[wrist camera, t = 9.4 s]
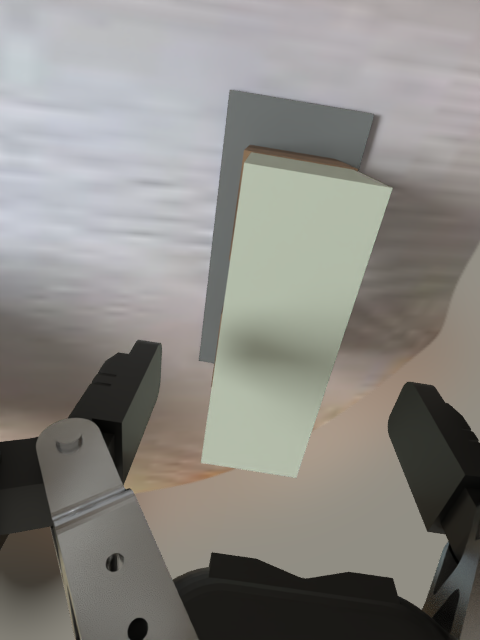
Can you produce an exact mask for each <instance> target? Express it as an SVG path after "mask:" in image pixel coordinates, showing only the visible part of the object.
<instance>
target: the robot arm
mask: <svg viewBox="0 0 480 640" xmlns="http://www.w3.org/2000/svg"><path fill="white" fill-rule="evenodd" d="M161 356H162V345H161V343H156V342H149V341H143V340H137V341H136V343H135V345H134V346H133V348H132V350H131V352H130V353H129V354H124V353H117V354H116V355H114V356H113V357H111V358H110V359H108V360H107V361H105V363H104V364H103V366H102V367H101V369H100V370H99V372H98V374H97V375H96V376H95V378H94V379H93V381H92V384H90V385H89V387H88V388H87V390H86V391H85V393H84V394H83V396H82V397H81V399H80V400H79V402H78V403H77V405H76V406H75V408H74V410H73V411H72V413H71V414H70V416H69V417H68V418H67V419H64V420H61V421H58V422H56V423H54V424H52V425H50V426H49V427H47V428H46V429H45V430H44V431H43V432H42V433H41V434H40V436H39V437H36V438H30V439H22V440H13V441H4V442H0V549H1V548H2V546H3V544H4V542H5V540H6V539H7V537H8V535H9V534H10V533H16V532H22V531H27V530H33V529H38V528H44V527H49V526H50V527H51V532H52V536H53V541H54V545H55V549H56V554H57V558H58V563H59V567H60V572H61V576H62V581H63V585H64V589H65V594H66V599H67V604H68V608H69V614H70V619H71V623H72V628H73V633H74V637H75V640H480V443H479V442H478V438H477V437H476V435H475V434H474V432H472V431H471V428H470V427H469V425H468V424H467V422H466V421H465V419H464V418H463V416H462V415H461V414H460V413H458V412H457V411H456V410H455V409H454V408H453V407H452V406H450V405H449V404H448V403H445V402H444V400H443V399H442V397H441V396H440V394H439V393H438V391H437V389H436V388H435V387H434V386H432V385H427V384H421V383H414V382H407V383H406V384H405V385H404V386H403V388H402V390H401V392H400V395H399V397H398V399H397V402H396V403H395V406H394V408H393V410H392V412H391V414H390V417H389V420H388V433H389V437H390V439H391V441H392V444H393V446H394V449H395V452H396V454H397V457H398V459H399V462H400V464H401V467H402V469H403V472H404V474H405V477H406V479H407V481H408V484H409V487H410V489H411V492H412V494H413V497H414V499H415V502H416V504H417V507H418V509H419V512H420V514H421V517H422V519H423V522H424V524H425V527H426V529H427V531H428V532H433V533H440V534H446V536H447V539H448V543H447V544H446V545H445V547H444V548H443V551H442V554H441V557H440V560H439V563H438V566H437V569H436V572H435V575H434V578H433V581H432V584H431V587H430V590H429V593H428V595H427V598H426V601H425V604H424V606H423V608H422V610H421V609H419V608H418V607H417V606H415V605H414V604H412V603H410V602H408V601H407V600H405V599H403V598H401V597H399V596H398V595H397V591H396V588H395V584H394V581H393V578H388V577H381V576H374V575H367V574H360V573H352V572H345V573H339V574H333V575H327V576H320V577H315V578H306V579H305V578H300V577H297V576H295V575H293V574H290V573H288V572H286V571H284V570H281V569H279V568H277V567H274V566H272V565H270V564H267V563H265V562H263V561H260V560H258V559H254V558H247V557H240V556H232V555H226V554H219V553H211V559H210V564H209V567H206V568H201V569H196V570H193V571H190V572H187V573H185V574H183V575H181V576H178V577H177V578H175V579H173V580H172V578H171V575H170V573H169V571H168V569H167V567H166V564H165V562H164V560H163V557H162V555H161V553H160V550H159V548H158V546H157V544H156V541H155V539H154V537H153V535H152V532H151V530H150V528H149V526H148V523H147V521H146V519H145V516H144V514H143V512H142V510H141V508H140V505H139V503H138V501H137V498H136V496H135V494H134V493H133V491H132V490H131V489H130V488H128V489H125V488H124V486H123V485H124V483H125V480H126V478H127V475H128V472H129V470H130V467H131V465H132V462H133V459H134V457H135V454H136V452H137V449H138V447H139V444H140V441H141V439H142V436H143V434H144V431H145V428H146V426H147V423H148V421H149V418H150V416H151V413H152V410H153V408H154V405H155V403H156V400H157V397H158V393H159V388H160V378H161Z"/></svg>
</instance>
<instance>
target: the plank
mask: <svg viewBox="0 0 480 640" xmlns="http://www.w3.org/2000/svg"><path fill="white" fill-rule="evenodd" d="M392 189H393V188H392V187H389V186H387V185H385V184H383V183H381V182H379V181H377V180H375V179H372V178H370V177H368V176H366V175H364V174H362V173H360V172H358V171H355V170H353V169H347V168H341V167H335V166H329V165H323V164H317V163H312V162H306V161H300V160H294V159H288V158H282V157H276V156H271V155H265V154H259V153H253V152H251V153H250V155H249V156H248V158H247V159H246V161H245V162H244V168H243V175H242V182H241V188H240V195H239V202H238V209H237V216H236V223H235V230H234V237H233V244H232V251H231V258H230V265H229V272H228V279H227V286H226V292H225V299H224V306H223V313H222V320H221V327H220V334H219V341H218V348H217V355H216V362H215V369H214V376H213V383H212V389H211V396H210V403H209V410H208V417H207V424H206V431H205V438H204V445H203V452H202V459H201V463H205V464H212V465H218V466H224V467H231V468H237V469H244V470H250V471H256V472H262V473H269V474H275V475H282V476H288V477H294V478H296V477H297V474H298V471H299V468H300V465H301V462H302V459H303V456H304V453H305V450H306V447H307V444H308V440H309V438H310V435H311V432H312V429H313V426H314V423H315V420H316V417H317V414H318V411H319V408H320V405H321V402H322V399H323V396H324V393H325V390H326V387H327V384H328V381H329V378H330V375H331V372H332V369H333V366H334V363H335V360H336V357H337V354H338V351H339V348H340V345H341V342H342V339H343V336H344V333H345V330H346V327H347V324H348V321H349V318H350V315H351V312H352V309H353V306H354V303H355V300H356V297H357V294H358V291H359V288H360V285H361V282H362V279H363V276H364V273H365V270H366V267H367V264H368V261H369V258H370V255H371V252H372V249H373V246H374V243H375V240H376V237H377V234H378V231H379V228H380V225H381V222H382V219H383V216H384V213H385V210H386V207H387V204H388V201H389V198H390V195H391V192H392Z"/></svg>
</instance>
